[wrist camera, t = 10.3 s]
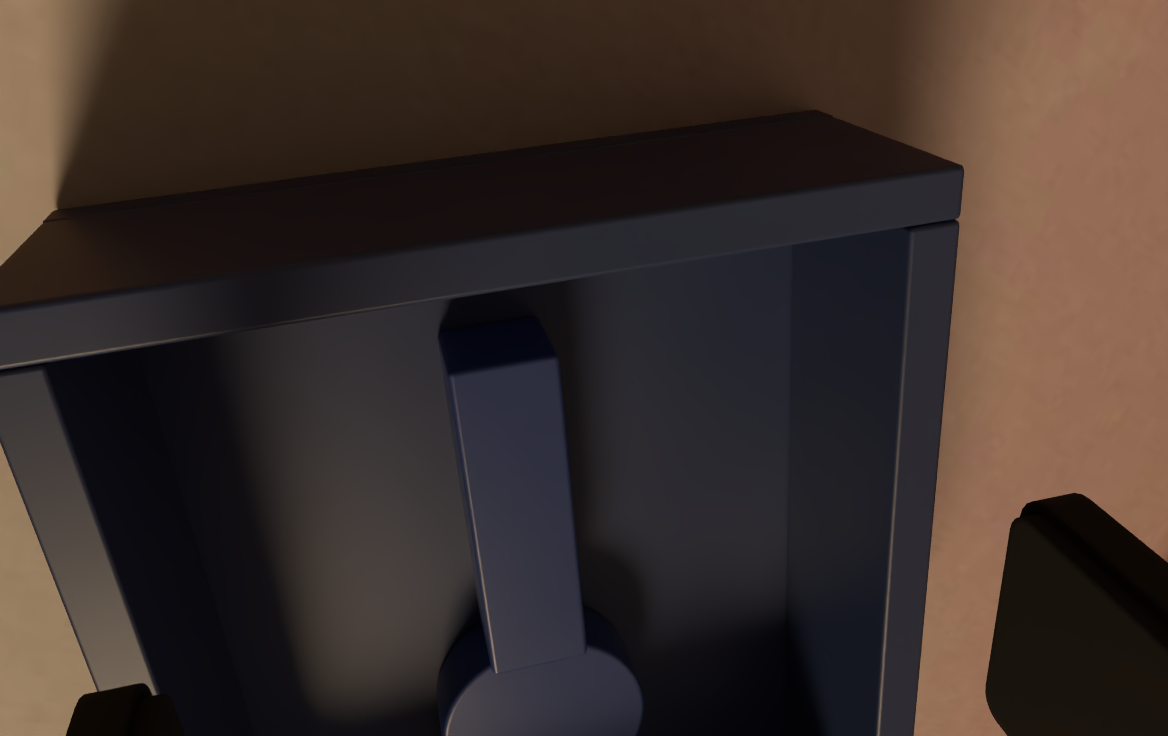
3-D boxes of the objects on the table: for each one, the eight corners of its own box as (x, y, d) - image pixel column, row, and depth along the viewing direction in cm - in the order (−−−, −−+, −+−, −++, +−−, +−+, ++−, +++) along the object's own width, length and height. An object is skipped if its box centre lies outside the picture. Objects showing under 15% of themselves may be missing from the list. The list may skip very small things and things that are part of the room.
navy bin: (52, 210, 13) (-52, 315, 10) (817, 108, 15) (968, 164, 12) (265, 867, 19) (250, 1088, 16) (802, 732, 21) (900, 898, 18)
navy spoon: (369, 340, 15) (373, 385, 13) (600, 303, 15) (628, 342, 14) (450, 772, 18) (459, 842, 17) (632, 728, 19) (655, 792, 18)
